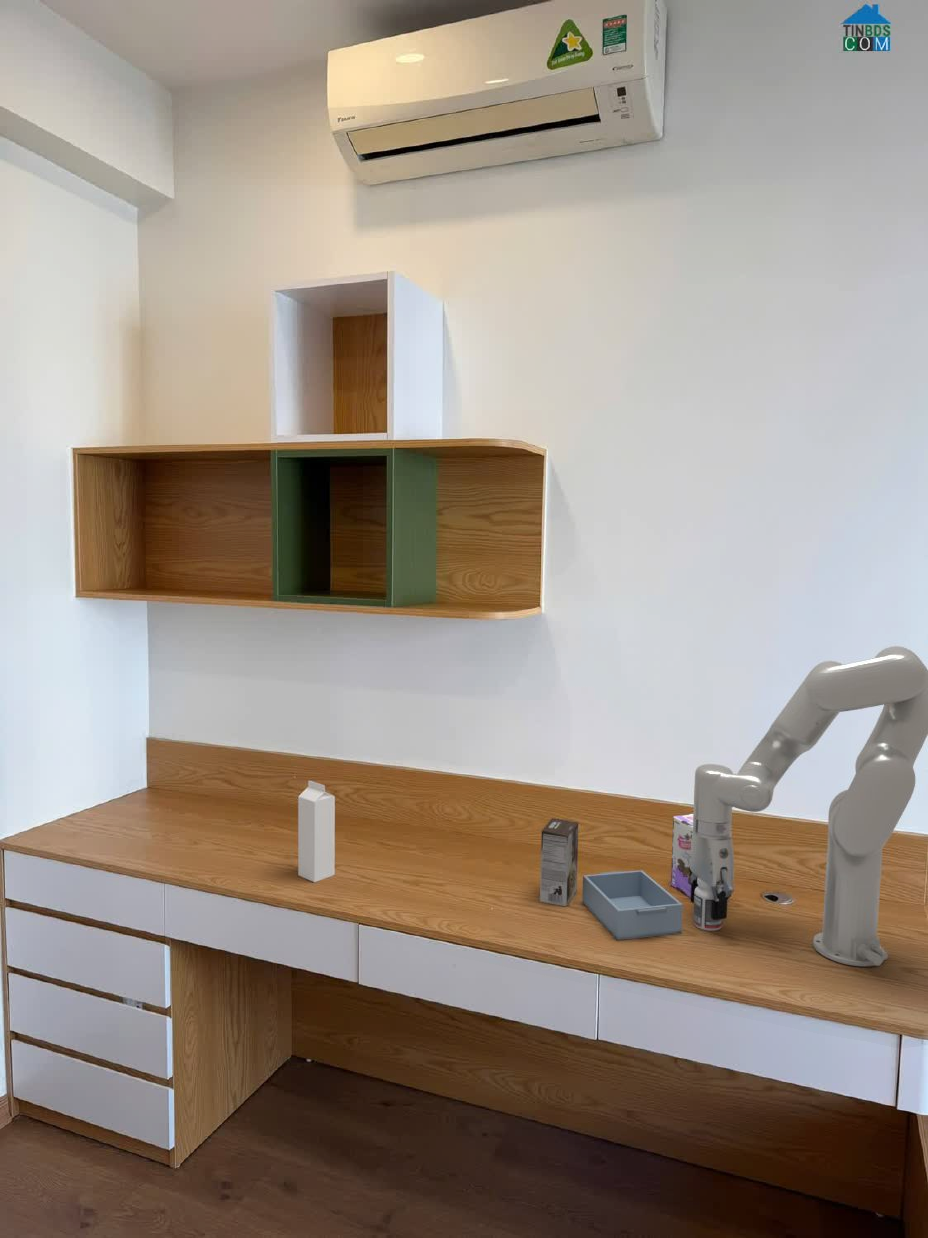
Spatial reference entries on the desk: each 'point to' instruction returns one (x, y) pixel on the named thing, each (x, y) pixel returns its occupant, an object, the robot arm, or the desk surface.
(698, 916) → the pill bottle
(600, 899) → the tote
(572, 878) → the coffee box
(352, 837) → the desk surface
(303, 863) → the milk
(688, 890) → the candy box
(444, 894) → the desk surface
